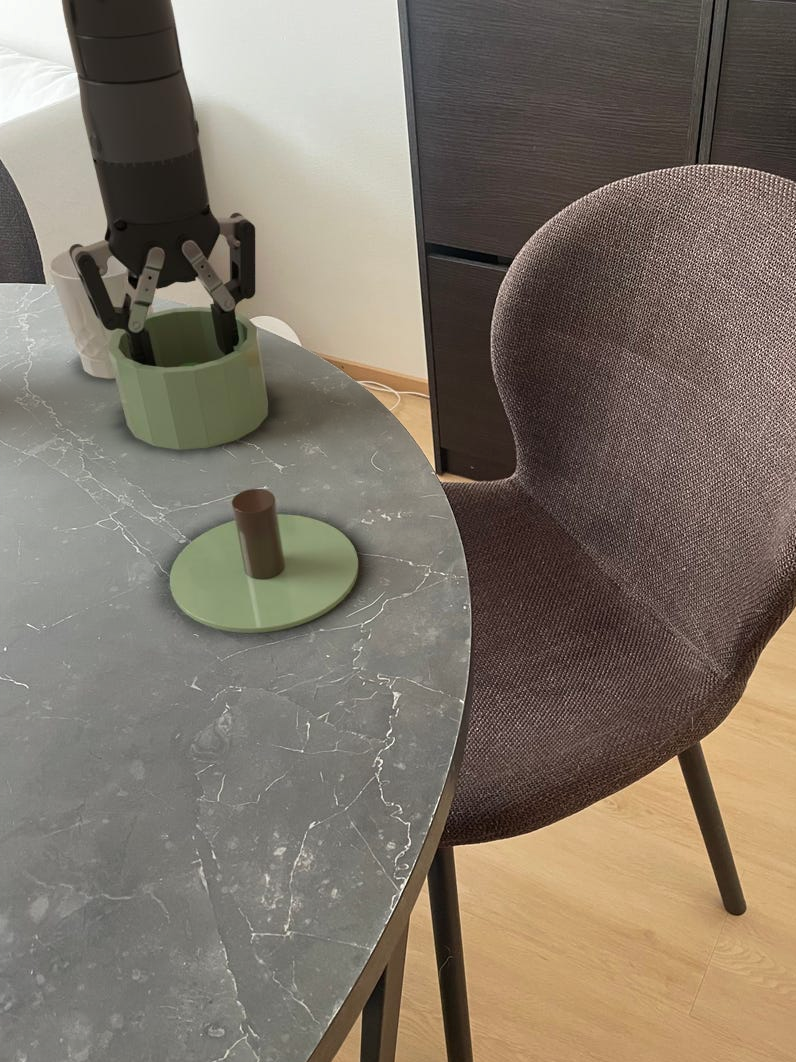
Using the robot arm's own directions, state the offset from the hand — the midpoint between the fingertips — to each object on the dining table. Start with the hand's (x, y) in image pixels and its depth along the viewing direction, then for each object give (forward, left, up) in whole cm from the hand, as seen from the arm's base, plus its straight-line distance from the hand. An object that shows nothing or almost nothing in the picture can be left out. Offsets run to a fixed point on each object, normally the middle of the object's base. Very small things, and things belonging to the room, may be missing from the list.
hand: (188, 359), depth 85 cm
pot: (0, 0, -6) cm, 6 cm away
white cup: (-11, +7, -6) cm, 14 cm away
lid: (+14, -19, -5) cm, 24 cm away
